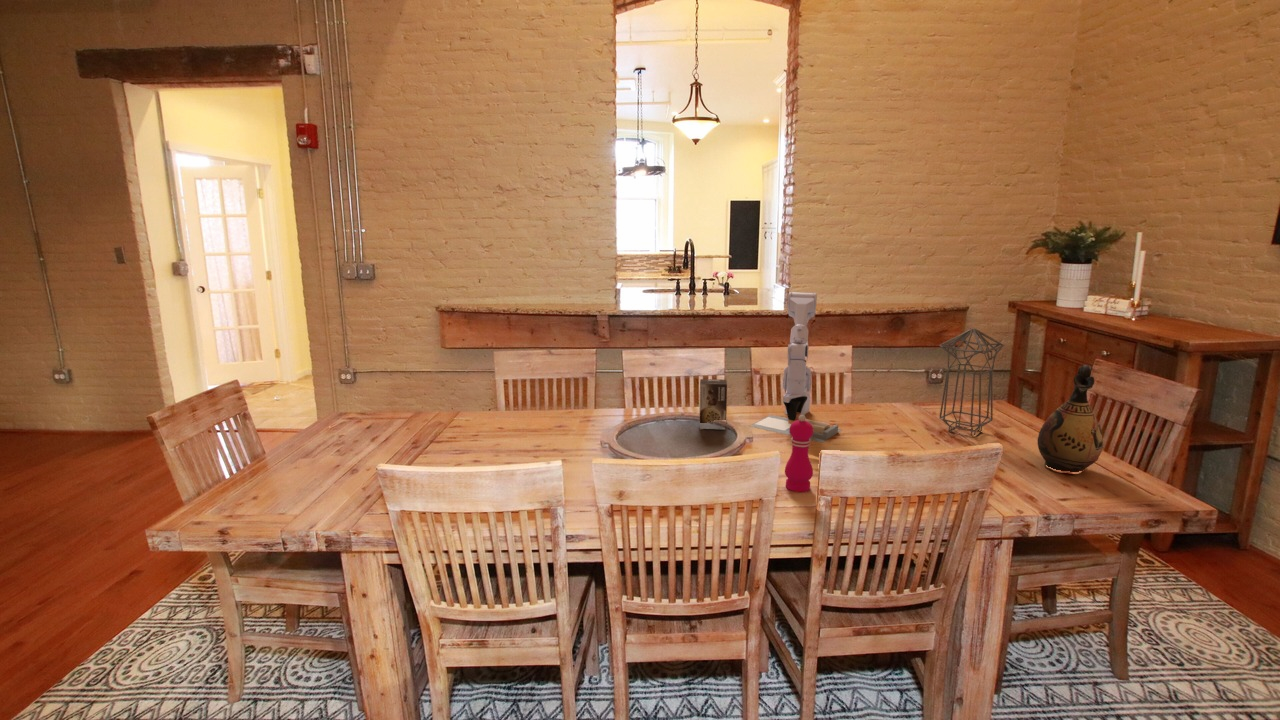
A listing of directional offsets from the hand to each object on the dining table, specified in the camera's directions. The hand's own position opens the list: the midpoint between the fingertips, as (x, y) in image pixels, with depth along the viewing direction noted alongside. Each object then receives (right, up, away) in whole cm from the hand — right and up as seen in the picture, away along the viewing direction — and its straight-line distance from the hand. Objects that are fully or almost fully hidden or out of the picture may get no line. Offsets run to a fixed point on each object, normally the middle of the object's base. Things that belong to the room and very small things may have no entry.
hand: (793, 418), depth 218 cm
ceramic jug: (+71, -12, -31) cm, 78 cm away
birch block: (+4, -4, -2) cm, 6 cm away
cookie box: (-27, -3, +3) cm, 27 cm away
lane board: (0, -4, 0) cm, 4 cm away
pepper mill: (-10, -14, -45) cm, 48 cm away
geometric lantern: (+56, -5, 0) cm, 56 cm away
